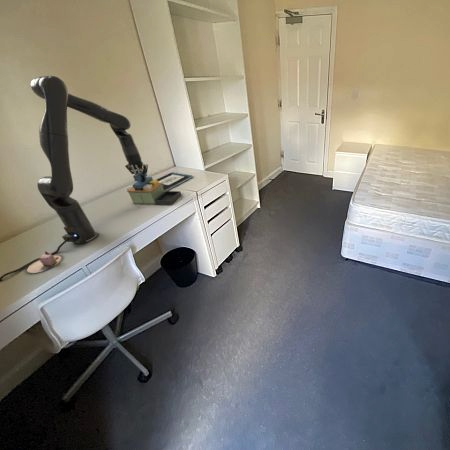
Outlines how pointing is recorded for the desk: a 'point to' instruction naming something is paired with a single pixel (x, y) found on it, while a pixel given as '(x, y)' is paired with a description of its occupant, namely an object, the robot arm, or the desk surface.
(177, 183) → the sketchbook
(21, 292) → the desk surface
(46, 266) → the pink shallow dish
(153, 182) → the scrap yellow
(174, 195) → the tray
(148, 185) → the scrap white
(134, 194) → the cabinet
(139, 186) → the brush
